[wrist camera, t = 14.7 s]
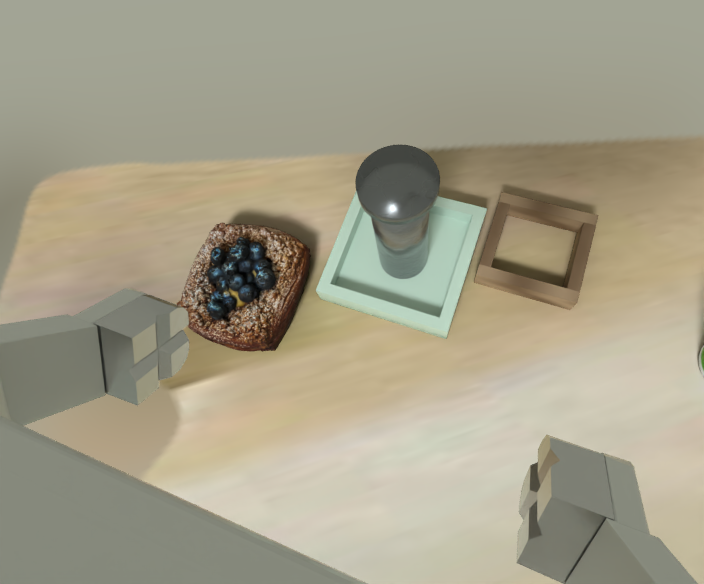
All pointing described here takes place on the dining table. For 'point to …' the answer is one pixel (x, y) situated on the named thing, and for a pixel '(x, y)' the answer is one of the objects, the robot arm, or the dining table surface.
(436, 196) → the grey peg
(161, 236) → the dining table surface
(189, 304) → the pastry
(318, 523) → the dining table surface
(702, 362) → the supplement bottle
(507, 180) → the dining table surface
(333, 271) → the tray
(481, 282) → the socket block
